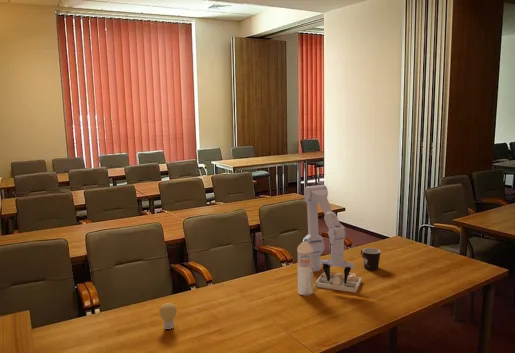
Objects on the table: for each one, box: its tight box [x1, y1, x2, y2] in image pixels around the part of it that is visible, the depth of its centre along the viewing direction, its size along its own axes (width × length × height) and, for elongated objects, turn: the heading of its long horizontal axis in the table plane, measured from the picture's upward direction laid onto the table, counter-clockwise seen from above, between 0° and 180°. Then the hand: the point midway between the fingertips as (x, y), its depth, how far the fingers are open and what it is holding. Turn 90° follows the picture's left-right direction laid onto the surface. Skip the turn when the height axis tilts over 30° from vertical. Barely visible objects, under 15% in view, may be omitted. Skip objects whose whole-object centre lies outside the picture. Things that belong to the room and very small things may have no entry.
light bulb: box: [158, 302, 178, 330], centre depth 166 cm, size 6×6×10 cm
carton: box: [314, 271, 362, 294], centre depth 200 cm, size 18×12×5 cm
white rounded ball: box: [332, 277, 342, 286], centre depth 197 cm, size 4×4×4 cm
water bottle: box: [296, 238, 314, 297], centre depth 192 cm, size 7×7×25 cm
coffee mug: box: [360, 247, 382, 271], centre depth 219 cm, size 12×9×10 cm
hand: (337, 281), depth 197 cm, fingers open, 7 cm apart
